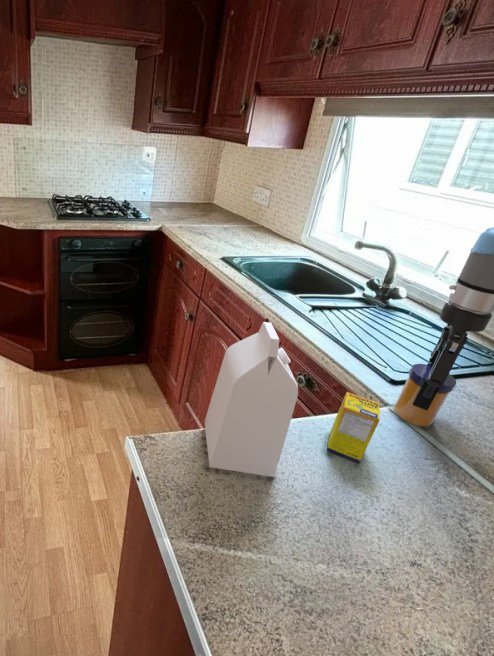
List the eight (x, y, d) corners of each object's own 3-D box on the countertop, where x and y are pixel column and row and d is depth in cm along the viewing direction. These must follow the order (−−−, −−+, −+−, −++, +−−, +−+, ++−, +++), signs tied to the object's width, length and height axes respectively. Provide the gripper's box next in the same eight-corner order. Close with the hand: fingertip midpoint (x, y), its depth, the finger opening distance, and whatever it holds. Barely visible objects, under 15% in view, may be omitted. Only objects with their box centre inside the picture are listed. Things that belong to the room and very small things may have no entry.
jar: (430, 412, 94) (450, 375, 89) (433, 431, 88) (455, 392, 83) (392, 399, 97) (410, 363, 92) (393, 417, 91) (412, 379, 86)
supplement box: (360, 445, 82) (380, 402, 77) (359, 464, 77) (380, 420, 72) (328, 432, 84) (346, 390, 79) (325, 450, 79) (344, 406, 75)
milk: (204, 421, 84) (230, 310, 72) (260, 430, 83) (296, 318, 72) (209, 467, 73) (241, 344, 61) (274, 477, 72) (318, 354, 61)
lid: (404, 378, 88) (407, 371, 87) (412, 366, 93) (416, 359, 93) (448, 398, 83) (453, 390, 82) (455, 383, 88) (459, 376, 88)
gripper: (447, 287, 90) (406, 371, 100) (445, 316, 75) (396, 412, 85) (490, 298, 86) (443, 384, 96) (496, 331, 71) (439, 430, 81)
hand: (421, 397), depth 90 cm, fingers closed on lid, 8 cm apart
